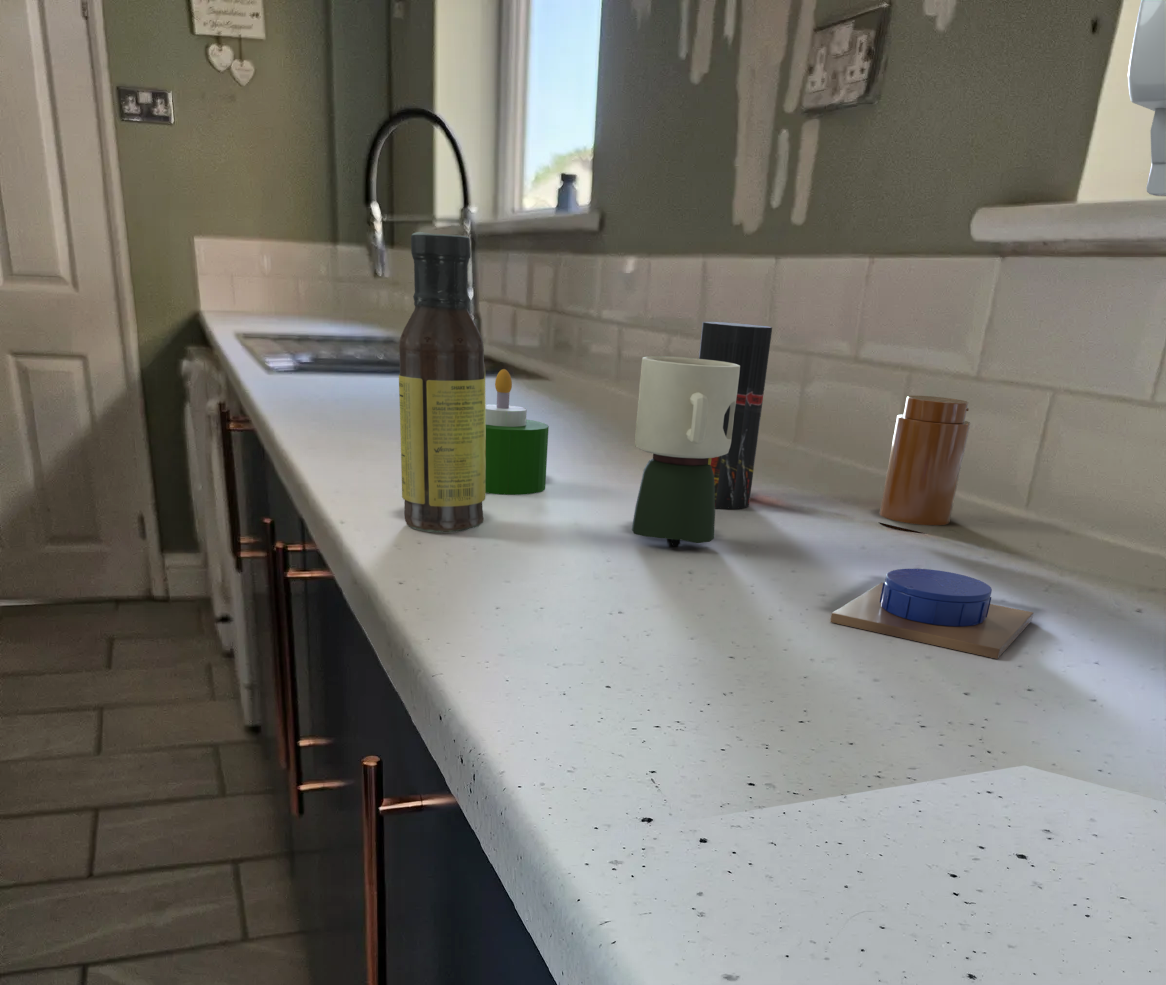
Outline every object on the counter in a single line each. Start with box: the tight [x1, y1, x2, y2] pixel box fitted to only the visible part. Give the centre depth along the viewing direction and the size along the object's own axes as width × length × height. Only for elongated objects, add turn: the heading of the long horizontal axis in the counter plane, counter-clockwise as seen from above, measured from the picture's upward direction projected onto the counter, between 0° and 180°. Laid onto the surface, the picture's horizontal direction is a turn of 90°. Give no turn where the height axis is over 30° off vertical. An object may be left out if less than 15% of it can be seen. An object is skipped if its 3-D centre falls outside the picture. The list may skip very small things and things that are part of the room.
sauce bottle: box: [398, 231, 487, 533], centre depth 79 cm, size 6×6×20 cm
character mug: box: [631, 355, 740, 547], centre depth 81 cm, size 11×7×13 cm, turn 6°
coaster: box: [830, 581, 1034, 660], centre depth 68 cm, size 10×10×1 cm
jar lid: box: [880, 568, 993, 627], centre depth 68 cm, size 6×6×2 cm
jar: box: [878, 395, 972, 535], centre depth 94 cm, size 6×6×11 cm
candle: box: [485, 368, 550, 496], centre depth 97 cm, size 8×8×10 cm
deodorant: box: [698, 321, 773, 510], centre depth 96 cm, size 6×6×15 cm
